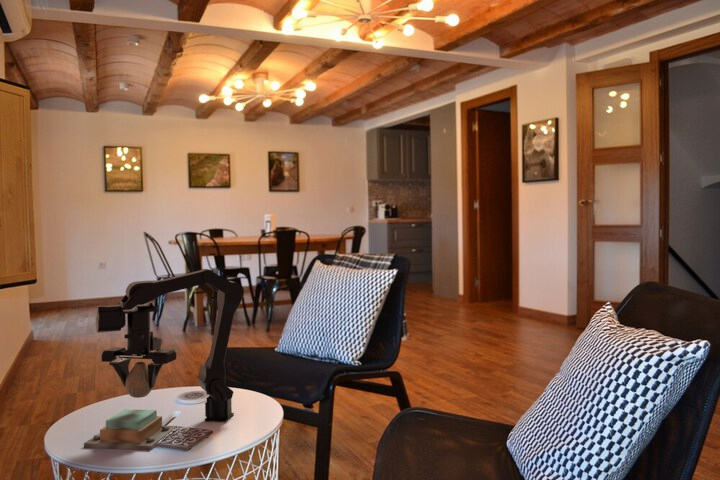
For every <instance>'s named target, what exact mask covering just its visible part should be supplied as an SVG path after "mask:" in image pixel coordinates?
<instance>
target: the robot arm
mask: <svg viewBox="0 0 720 480" xmlns="http://www.w3.org/2000/svg"><path fill="white" fill-rule="evenodd" d="M202 285H207V286H208V287H210V289H212V290H213V291H215V292H217V296H216V297H217V299H216V302H217V308H218V312H217V318H216V322H215V327H214V332H213V337H212V341H211V346H210V350H209V355H208V359H207V361H206V362H205V364H200V365H199V372H198V375H197V377H196V379H197V380H198V385H199V386H200V388H201V389H202V390H203V391H204V392H205V393H206V395H208V396H207V397H206V401H205V403H204V405H205V406H204V413H205V414H204V416H205V418H204V421H205V422H220V423H221V422H223V423H225V422H228V421H229V420H230V419H231V418H232V417H233V416H234V414H235V413H234V412H233V411H232V406H233V405H232V400H233V399H232V398H233V395H234V390H232V389H231V388H230V387H229V386H227V384H226V374H227V373H226V367H225V360H226V356H227V350H228V346H229V340H230V336H231V332H232V331H231V330H232V325H233V321H234V316H235V313H236V312H237V310H238V308H239V307H240V305H241V303H242V300H243V297H244V294H245V289H244V287H243V286H242V284H240V283H239V282H236V281H232V280H228V279H227V278H225V277H222V276H221V275H219V274H218V273H215V272H214V271H213V270H212V269H208V268H202V269H200V270H196V271H192V272H188V273H184V274H179V275H176V276H172V277H168V278H164V279H160V280H159V279H157V280H155V279H154V280H138V281H137V280H136V281H133V282H130V283H129V284H128V285H127V287H126V289H125V295H124V296H123V297H122V298H121V300H120V301H119V302H118V304H117V305H97V306H96V310H97V311H96V316H95V330H96V333H97V334H98V333H108V332H110V333H111V332H112V333H113V332H121V330H122V329H123V328H124V327H127V329H126V330H127V331H126V333H125V334H124V339H127V340H126V342H127V349H126V347H118V346H117V347H116V346H113V347H110V348H107V349H105V350H104V349H103V351H102V352H101V355H100V362H102V363H103V362H104V363H107V362H108V365H109V366H112V368H113V369H114V370H115V372H116V374H117V375H118V377H119V379H120V380H121V382H122V384H123V386H124V388H126V378H127V375H128V373H129V372H130V368H129V367H130V366H129V365H130V363H131V361H132V359H135V360H136V359H139V360H151V362H150V363H148V364H147V368H148V377H149V386H150V389H152V390H153V388H154V387H155V384H156V381H157V378H158V375H159V373H160V371H161V368H162V367H163V366H164V365H165V364H166V365H167V364H168V363H171V362H173V361H176V360H177V352H176V351H175V349H173V348H162V343H163V339H161V338H158V337H155V336H154V331H151V313H154V312H158V311H159V308H157V307H156V306H155V305H154V304H153V301H155V300H156V299H158V298H160V297H162V296H163V295H166V294H170V293H175V292H178V291H182V290H185V289H189V288H193V287H198V286H202ZM126 324H127V325H126Z"/></svg>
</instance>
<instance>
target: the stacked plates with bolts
mask: <svg viewBox="0 0 720 480" xmlns="http://www.w3.org/2000/svg"><path fill="white" fill-rule="evenodd" d="M157 414H158V413H157V410H156V409H135V408H134V409H133V408H132V409H130V408H128V409H127V408H126V409H123V410H122V411H120V412H118V413H116V414H114V415H113V416H111V417H110V418H108V419H106V420H105V426H104V427H102V428H100V429H99V433H98V434H95V435H93V437H92V438H90V439H88V440H86V441H85V442H84V443H83V448H92V449H93V448H94V449H95V448H96V449H97V448H98V449H114V450H115V449H119V450H141V451H145V450H146V451H152V450H153V449H154V448H156V447H157V446H158V445H157V443H158V442H159V441H160V440H161V439H162V438H163V437H165V436H166V435H167V434H169V433H170V432H171V431H172V430H173V429H175V428H177V429H178V425H163V416H161V415H160V416H157ZM156 445H157V446H156Z"/></svg>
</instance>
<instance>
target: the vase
mask: <svg viewBox="0 0 720 480" xmlns="http://www.w3.org/2000/svg"><path fill="white" fill-rule="evenodd" d="M125 390H126V392H127V393H128V395H129V396H130V397H131V398H136V399H138V398H139V399H140V398H145V397H147V396H149V394H150V393H151V391H152V390H153V388H152V389H150V386H149V377H148V365H146V362H144V361H137V362H135V363H134V366H133V367H132V368H131V369H130V370H129V373H128V375H127V378H126V387H125Z"/></svg>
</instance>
